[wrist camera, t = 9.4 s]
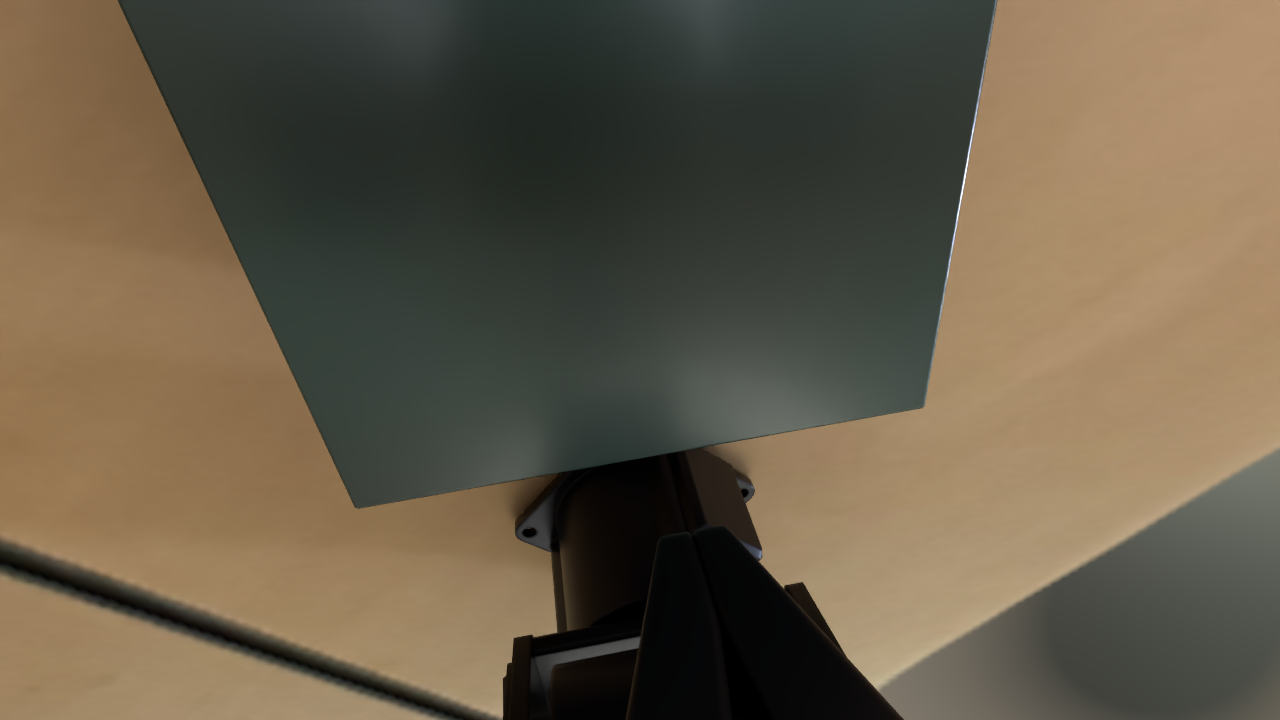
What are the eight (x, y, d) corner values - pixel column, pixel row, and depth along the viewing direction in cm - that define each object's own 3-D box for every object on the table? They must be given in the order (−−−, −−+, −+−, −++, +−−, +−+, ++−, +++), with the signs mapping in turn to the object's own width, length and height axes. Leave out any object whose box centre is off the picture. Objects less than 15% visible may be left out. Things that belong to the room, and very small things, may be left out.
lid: (-80, -503, 7) (-138, -534, 6) (1063, -591, 8) (1114, -626, 7) (360, 481, 15) (354, 510, 14) (908, 385, 16) (925, 409, 15)
